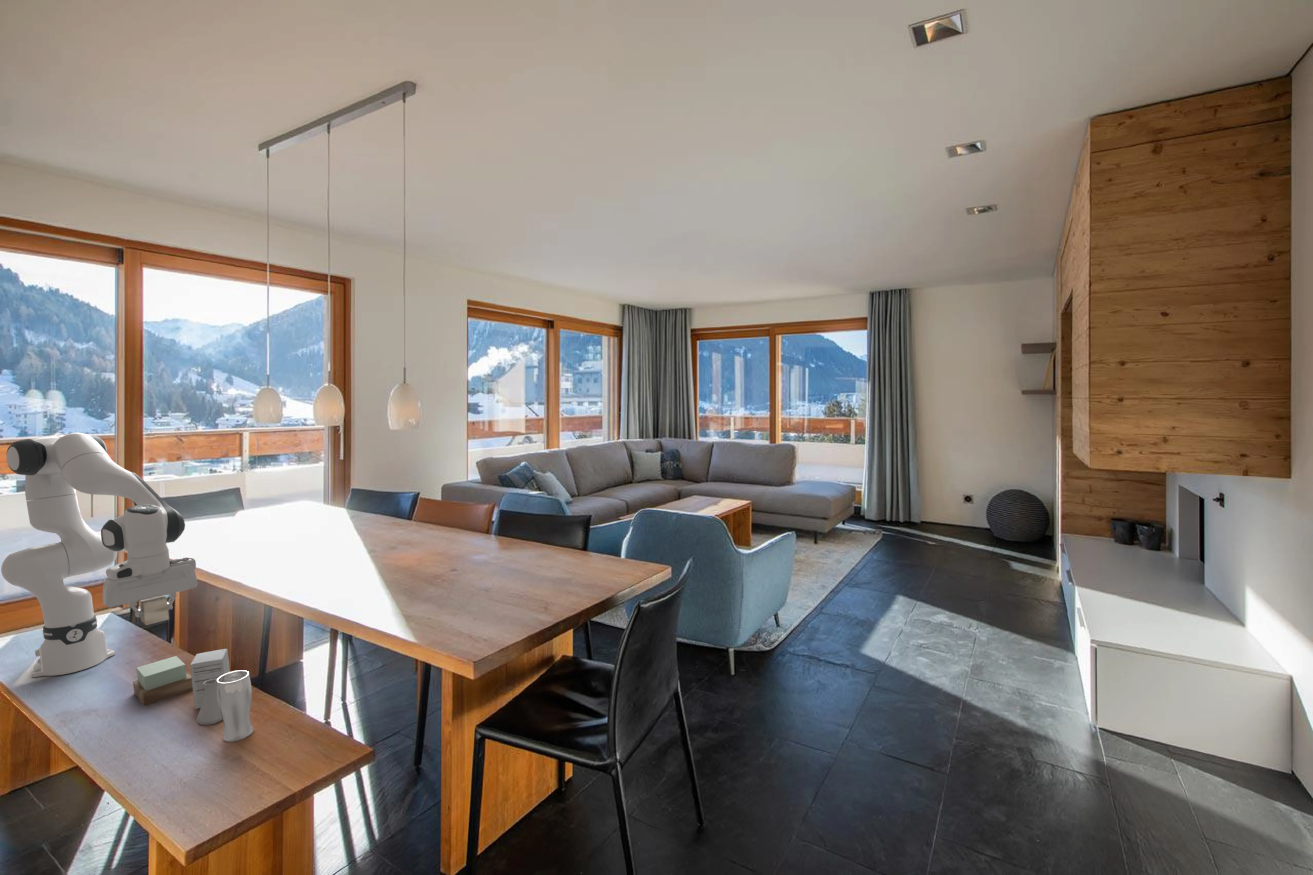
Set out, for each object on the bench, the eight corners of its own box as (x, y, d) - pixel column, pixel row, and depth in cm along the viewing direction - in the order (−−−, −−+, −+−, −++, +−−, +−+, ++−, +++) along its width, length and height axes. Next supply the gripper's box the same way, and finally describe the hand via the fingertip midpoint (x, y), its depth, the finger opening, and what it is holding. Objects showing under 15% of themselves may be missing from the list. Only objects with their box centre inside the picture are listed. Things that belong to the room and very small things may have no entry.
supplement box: (200, 697, 169) (196, 653, 168) (232, 690, 172) (228, 647, 171) (193, 709, 162) (189, 664, 161) (227, 703, 165) (222, 658, 164)
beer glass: (247, 741, 147) (241, 682, 146) (215, 744, 146) (209, 685, 145) (260, 725, 154) (255, 668, 153) (230, 728, 153) (224, 671, 152)
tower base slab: (134, 695, 172) (133, 681, 171) (182, 679, 180) (181, 666, 180) (144, 707, 165) (143, 693, 165) (194, 690, 173) (192, 677, 173)
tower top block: (137, 681, 171) (136, 667, 171) (177, 668, 178) (176, 655, 178) (145, 690, 166) (144, 676, 165) (186, 677, 173) (185, 664, 172)
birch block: (141, 621, 169) (139, 600, 169) (163, 615, 173) (161, 594, 173) (146, 625, 166) (143, 603, 166) (169, 619, 170) (166, 598, 170)
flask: (213, 727, 154) (209, 689, 153) (189, 724, 155) (185, 687, 154) (238, 711, 161) (234, 675, 160) (215, 709, 162) (211, 673, 161)
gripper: (191, 553, 178) (196, 599, 180) (98, 571, 162) (103, 621, 164) (198, 556, 174) (202, 603, 176) (103, 575, 159) (109, 627, 160)
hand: (154, 612), depth 170 cm, fingers closed on birch block, 5 cm apart
